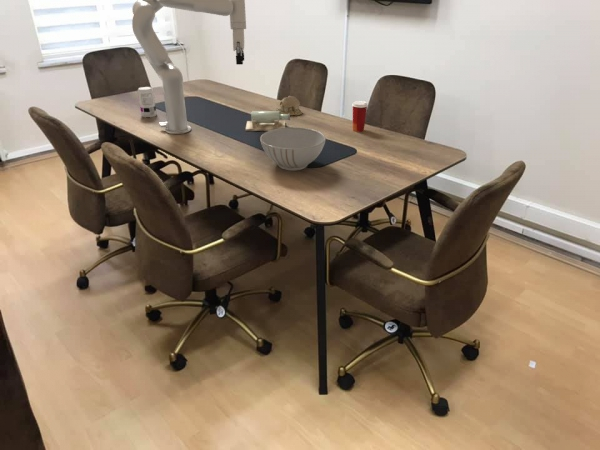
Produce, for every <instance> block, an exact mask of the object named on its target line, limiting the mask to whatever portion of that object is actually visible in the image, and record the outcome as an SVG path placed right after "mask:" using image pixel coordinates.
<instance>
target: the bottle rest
mask: <svg viewBox="0 0 600 450" xmlns="http://www.w3.org/2000/svg"><path fill="white" fill-rule="evenodd" d="M278 128H286V120H279V123H278V120H274V123H257V121H256V120H252V121H251V120H247V121H246V125H245V131H246V132H249V131H250V132H251V131H252V132H254V131H255V132H257V131H260V132H263V131H264V132H267V131H270V130H273V129H278Z"/></svg>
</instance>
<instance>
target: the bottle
mask: <svg viewBox="0 0 600 450" xmlns="http://www.w3.org/2000/svg"><path fill="white" fill-rule="evenodd" d="M250 116H251V117H250V119H251V120H250V121H252V120H256V121H257V123H274V120H278V123H279V121H291V115H290V114H279V111H276V110H262V111H261V110H252V111H251V113H250Z"/></svg>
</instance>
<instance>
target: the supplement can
mask: <svg viewBox="0 0 600 450" xmlns="http://www.w3.org/2000/svg"><path fill="white" fill-rule="evenodd" d="M154 93H155V92H154V90H153V88H152V87H151V86H140V87H138V89H137V96H138V102H139V110H140V115H141V116H142V117H143V118H146V117H150V118H154V117H156V116H157V112H158V111H157V107H156V100H155V94H154Z"/></svg>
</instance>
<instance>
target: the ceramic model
mask: <svg viewBox="0 0 600 450" xmlns="http://www.w3.org/2000/svg"><path fill="white" fill-rule="evenodd" d="M300 103H301V102H300V101H299V99H297V98H296V97H295V96H292V95H288V97H283V98H282V99H281V100H280V102H279V106H280V108H276V110H275V111H279V114H290V116H298V115H302V114H303V111H302V110H301V109H300V106H301V104H300Z"/></svg>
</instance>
